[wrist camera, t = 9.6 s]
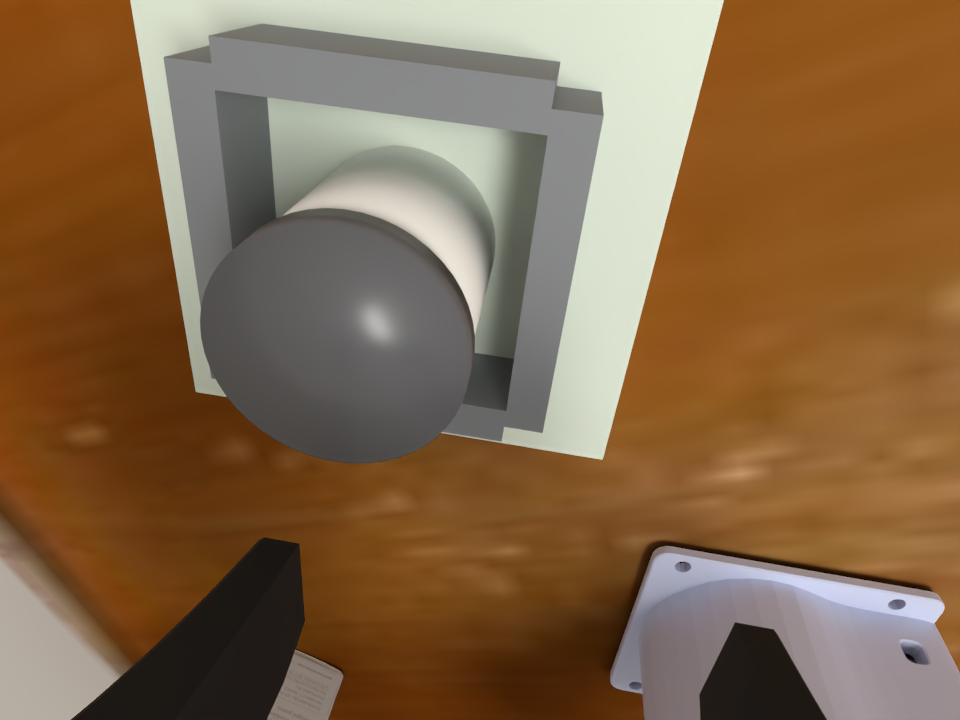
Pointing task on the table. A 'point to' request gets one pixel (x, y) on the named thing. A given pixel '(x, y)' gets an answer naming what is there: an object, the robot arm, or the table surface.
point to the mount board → (461, 141)
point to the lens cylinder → (356, 309)
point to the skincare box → (307, 690)
